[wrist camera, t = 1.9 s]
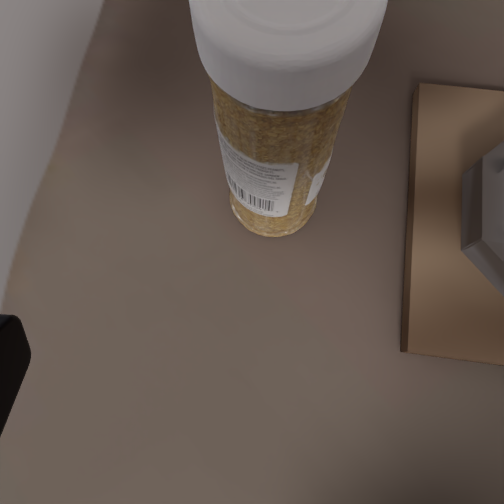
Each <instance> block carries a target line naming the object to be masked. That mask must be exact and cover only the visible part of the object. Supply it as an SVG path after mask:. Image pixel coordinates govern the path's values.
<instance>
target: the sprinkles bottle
mask: <svg viewBox="0 0 504 504" xmlns="http://www.w3.org/2000/svg"><path fill="white" fill-rule="evenodd" d="M387 2H388V0H189V5H190V11H191V18H192V24H193V30H194V35H195V40H196V44H197V49H198V53H199V56H200V59H201V62H202V64H203V66H204V68H205V70H206V71H207V74H208V76H209V78H210V82H211V87H212V94H213V101H214V116H215V122H216V127H217V132H218V137H219V143H220V148H221V153H222V158H223V163H224V168H225V173H226V177H227V181H228V184H229V187H230V194H229V195H230V204H231V207H232V210H233V213H234V215H235V216H236V218H237V219H238V220H239V222H240V223H241V224H242V225H244V226H245V227H246V228H247V229H248V230H250V231H252V232H254V233H256V234H258V235H262V236H268V237H280V236H285V235H288V234H292V233H294V232H296V231H297V230H299V229H300V228H301V227H302V226H304V225H305V224H306V222H307V221H308V219H309V218H310V217H311V215H312V214H313V212H314V210H315V207H316V202H317V194H318V192H319V190H320V188H321V186H322V183H323V180H324V177H325V174H326V171H327V168H328V165H329V162H330V159H331V156H332V151H333V145H334V142H335V139H336V135H337V132H338V129H339V126H340V123H341V120H342V117H343V115H344V112H345V108H346V105H347V101H348V98H349V95H350V92H351V89H352V85H353V84H354V83H355V82H356V80H357V79H358V78H359V77H360V76H361V74H362V73H363V71H364V69H365V67H366V66H367V64H368V62H369V59H370V57H371V54H372V51H373V49H374V46H375V43H376V40H377V37H378V34H379V31H380V28H381V24H382V21H383V18H384V14H385V11H386V7H387Z"/></svg>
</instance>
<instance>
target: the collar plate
mask: <svg viewBox="0 0 504 504" xmlns="http://www.w3.org/2000/svg"><path fill="white" fill-rule="evenodd" d="M401 352H405V353H412V354H420V355H427V356H435V357H442V358H450V359H457V360H465V361H472V362H480V363H487V364H495V365H502V366H504V91H496V90H487V89H477V88H467V87H458V86H448V85H438V84H428V83H419V85H418V86H417V88H416V90H415V91H414V93H413V106H412V127H411V148H410V168H409V189H408V210H407V230H406V251H405V272H404V292H403V313H402V334H401Z"/></svg>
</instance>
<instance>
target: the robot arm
mask: <svg viewBox="0 0 504 504" xmlns="http://www.w3.org/2000/svg"><path fill="white" fill-rule="evenodd" d="M30 359H31V350H30V346H29V343H28V340H27V337H26V334H25V331H24V328H23V325H22V323H21V320H20V319H19V318H18V317H17V316H15V315H5V314H0V436H1V434H2V432H3V429H4V427H5V424H6V421H7V419H8V416H9V414H10V411H11V409H12V406H13V404H14V401H15V399H16V396H17V394H18V391H19V389H20V386H21V384H22V381H23V379H24V376H25V374H26V371H27V369H28V366H29V363H30Z"/></svg>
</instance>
